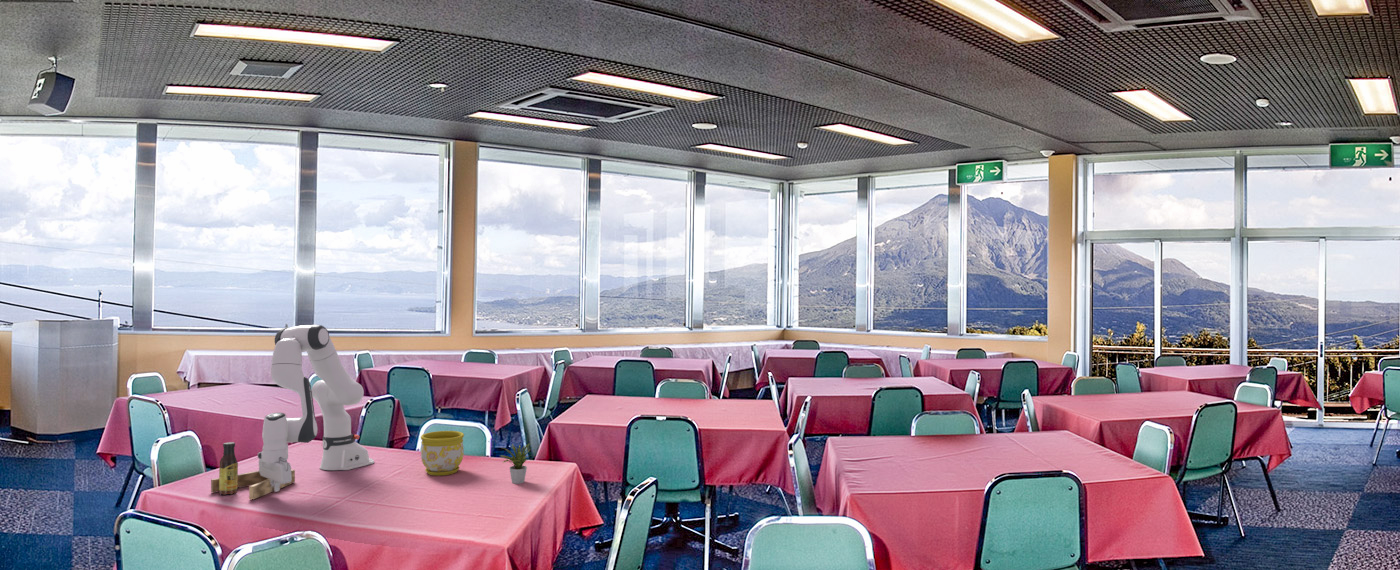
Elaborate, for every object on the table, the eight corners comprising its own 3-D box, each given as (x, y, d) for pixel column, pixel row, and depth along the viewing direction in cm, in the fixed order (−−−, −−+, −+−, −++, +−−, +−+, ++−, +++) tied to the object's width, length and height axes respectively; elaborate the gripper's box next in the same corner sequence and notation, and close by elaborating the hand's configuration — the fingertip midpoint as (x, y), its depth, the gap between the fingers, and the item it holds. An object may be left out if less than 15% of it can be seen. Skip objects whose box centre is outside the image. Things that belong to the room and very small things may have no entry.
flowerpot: (460, 465, 360) (460, 429, 360) (466, 474, 344) (467, 437, 344) (418, 469, 353) (418, 432, 352) (423, 479, 336) (423, 440, 336)
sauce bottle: (228, 496, 309) (228, 445, 308) (215, 495, 310) (214, 444, 310) (241, 491, 315) (241, 441, 315) (228, 490, 317) (228, 441, 316)
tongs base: (278, 479, 333) (278, 463, 333) (286, 482, 328) (286, 467, 328) (211, 492, 313) (211, 476, 313) (219, 496, 308) (219, 479, 308)
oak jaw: (288, 481, 330) (288, 469, 330) (296, 481, 329) (296, 469, 329) (244, 499, 304) (244, 486, 304) (253, 499, 304) (253, 486, 304)
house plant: (513, 475, 344) (514, 437, 344) (541, 478, 339) (542, 440, 339) (494, 483, 330) (494, 444, 330) (523, 487, 326) (523, 447, 325)
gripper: (296, 458, 305) (296, 494, 305) (272, 450, 318) (272, 484, 318) (279, 461, 300) (279, 497, 301) (255, 453, 313) (255, 487, 313)
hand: (275, 490), depth 309 cm, fingers closed
